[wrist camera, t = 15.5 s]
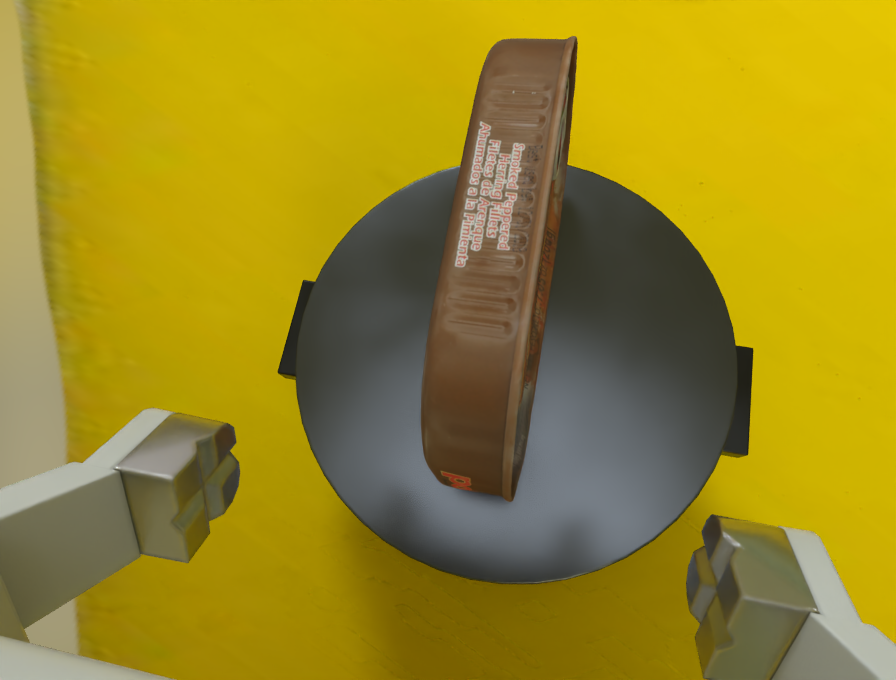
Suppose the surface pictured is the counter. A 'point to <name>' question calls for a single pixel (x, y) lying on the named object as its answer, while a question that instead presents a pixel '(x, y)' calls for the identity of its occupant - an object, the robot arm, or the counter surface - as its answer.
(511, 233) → the tin
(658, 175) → the counter surface
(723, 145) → the counter surface
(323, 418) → the stockpot
